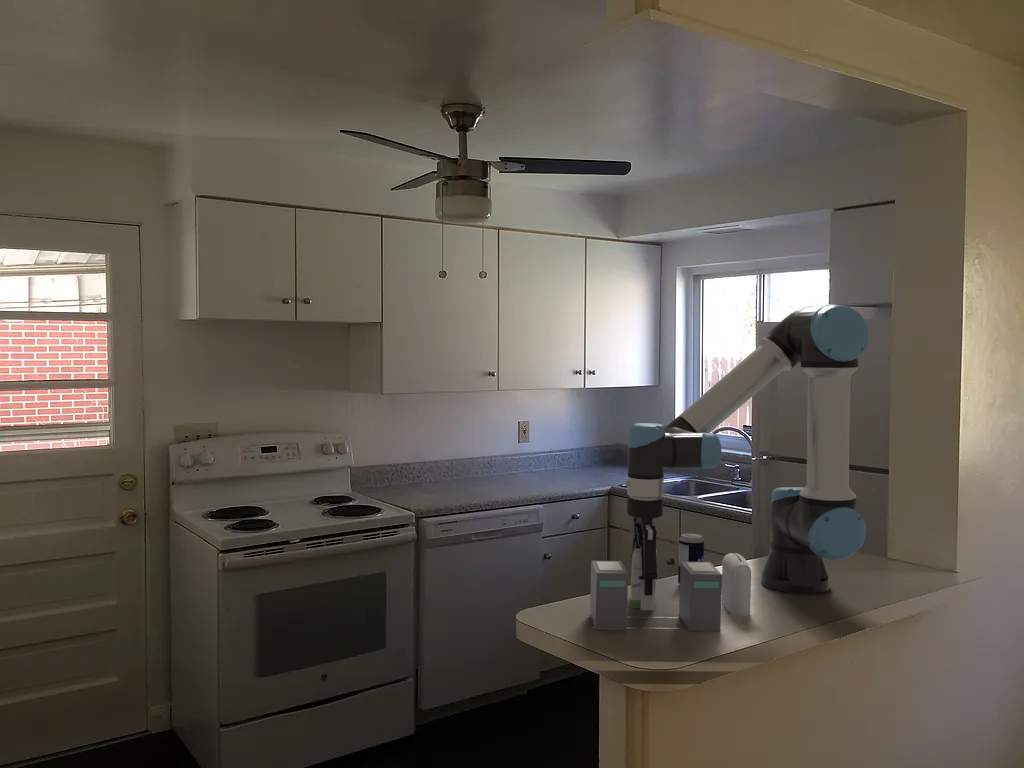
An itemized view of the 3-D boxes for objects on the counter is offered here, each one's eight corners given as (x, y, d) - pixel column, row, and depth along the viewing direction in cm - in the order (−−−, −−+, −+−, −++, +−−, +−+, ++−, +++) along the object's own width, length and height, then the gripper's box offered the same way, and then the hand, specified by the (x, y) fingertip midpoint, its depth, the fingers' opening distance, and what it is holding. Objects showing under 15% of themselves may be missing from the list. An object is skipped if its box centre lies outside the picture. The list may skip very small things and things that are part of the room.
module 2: (708, 615, 173) (710, 561, 172) (720, 631, 163) (722, 573, 163) (679, 615, 173) (680, 560, 172) (689, 631, 163) (691, 573, 163)
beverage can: (698, 591, 193) (700, 539, 193) (674, 587, 196) (675, 535, 196) (706, 585, 198) (707, 534, 198) (682, 581, 201) (683, 531, 200)
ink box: (631, 600, 186) (632, 546, 185) (655, 601, 185) (657, 547, 184) (629, 612, 177) (630, 556, 177) (654, 614, 176) (655, 557, 176)
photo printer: (718, 605, 184) (720, 548, 183) (738, 605, 184) (740, 549, 183) (731, 621, 173) (733, 561, 173) (752, 621, 173) (754, 561, 173)
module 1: (619, 614, 172) (621, 560, 172) (626, 630, 163) (628, 572, 162) (590, 614, 172) (591, 559, 172) (595, 630, 163) (596, 572, 162)
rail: (711, 622, 172) (711, 616, 172) (722, 636, 164) (722, 630, 164) (587, 621, 172) (587, 615, 172) (592, 635, 164) (592, 628, 164)
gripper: (619, 487, 191) (617, 587, 192) (635, 507, 169) (633, 619, 170) (653, 487, 191) (651, 587, 192) (673, 507, 169) (671, 619, 170)
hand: (642, 602), depth 181 cm, fingers closed on ink box, 9 cm apart
